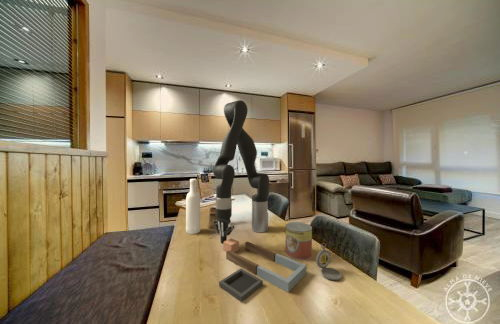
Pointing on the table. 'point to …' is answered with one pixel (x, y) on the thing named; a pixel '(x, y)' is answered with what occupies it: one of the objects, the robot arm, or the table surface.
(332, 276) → the pocket watch
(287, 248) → the canned food
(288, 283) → the slate bay
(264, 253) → the wooden bars
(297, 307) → the table surface
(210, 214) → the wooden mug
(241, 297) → the dark gray tray
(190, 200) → the bottle
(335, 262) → the table surface
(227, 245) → the terracotta block
